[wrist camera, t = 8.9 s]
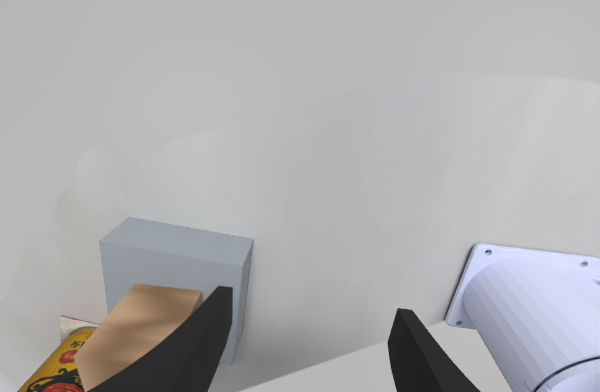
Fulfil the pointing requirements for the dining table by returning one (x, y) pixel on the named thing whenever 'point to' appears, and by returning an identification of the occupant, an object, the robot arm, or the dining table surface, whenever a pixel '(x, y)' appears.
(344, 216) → the dining table surface
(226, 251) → the slate box
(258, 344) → the dining table surface
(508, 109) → the dining table surface
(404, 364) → the robot arm
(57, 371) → the condiment
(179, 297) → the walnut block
